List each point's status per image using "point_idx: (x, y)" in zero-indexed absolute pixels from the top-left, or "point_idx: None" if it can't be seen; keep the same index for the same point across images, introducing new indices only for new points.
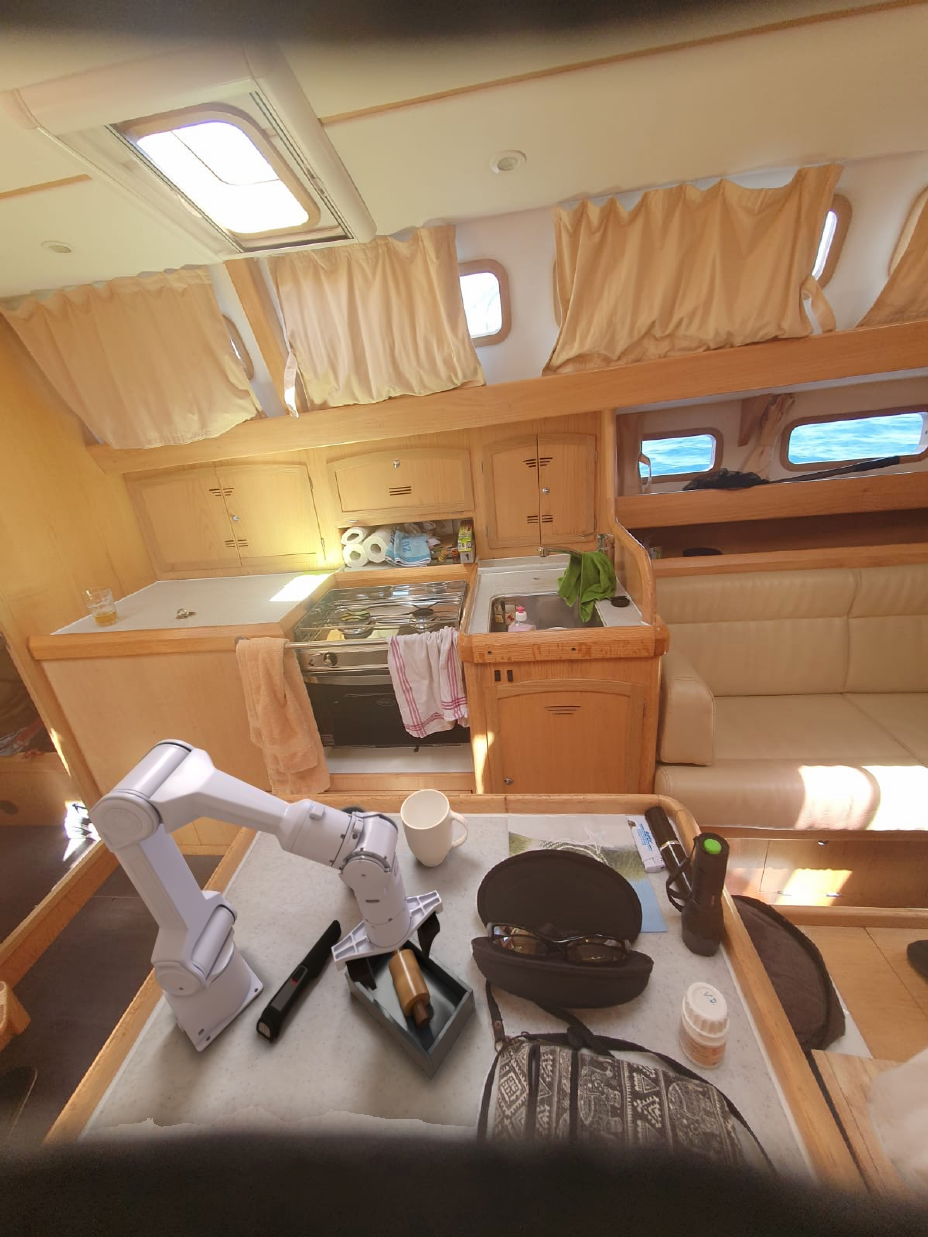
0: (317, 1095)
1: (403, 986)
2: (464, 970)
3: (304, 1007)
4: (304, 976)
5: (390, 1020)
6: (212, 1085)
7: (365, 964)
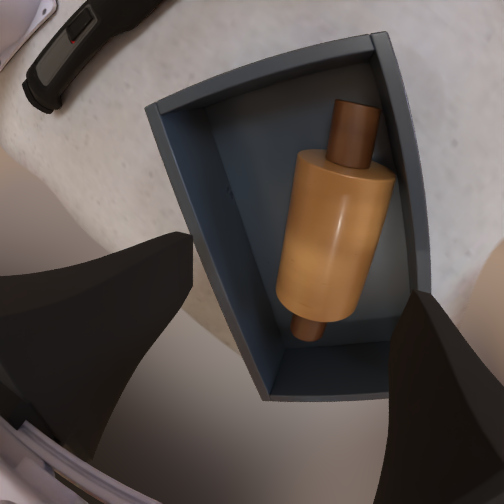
0: (108, 230)
1: (298, 272)
2: (464, 273)
3: (103, 75)
4: (88, 34)
5: (224, 311)
6: (7, 121)
7: (66, 446)
